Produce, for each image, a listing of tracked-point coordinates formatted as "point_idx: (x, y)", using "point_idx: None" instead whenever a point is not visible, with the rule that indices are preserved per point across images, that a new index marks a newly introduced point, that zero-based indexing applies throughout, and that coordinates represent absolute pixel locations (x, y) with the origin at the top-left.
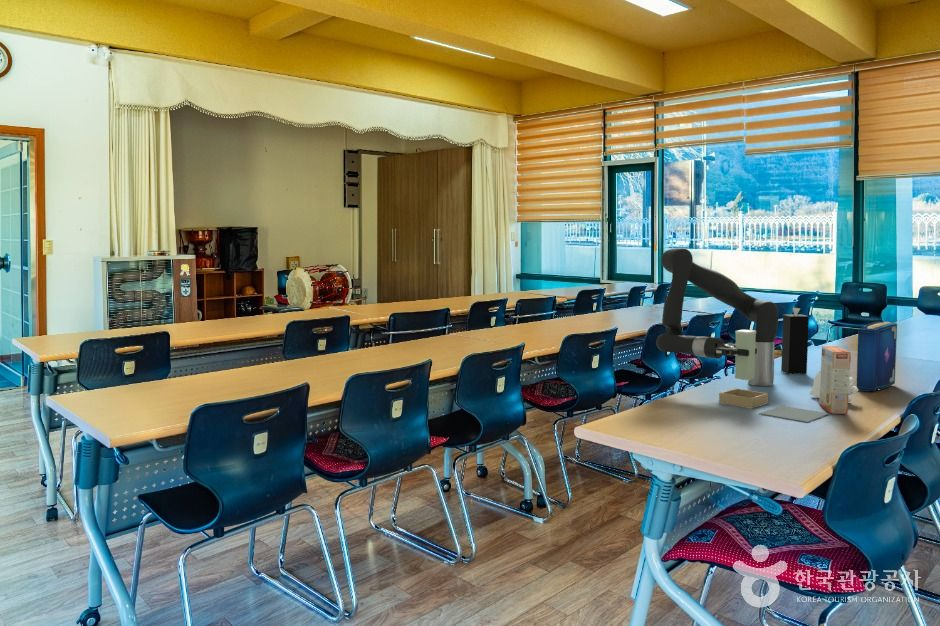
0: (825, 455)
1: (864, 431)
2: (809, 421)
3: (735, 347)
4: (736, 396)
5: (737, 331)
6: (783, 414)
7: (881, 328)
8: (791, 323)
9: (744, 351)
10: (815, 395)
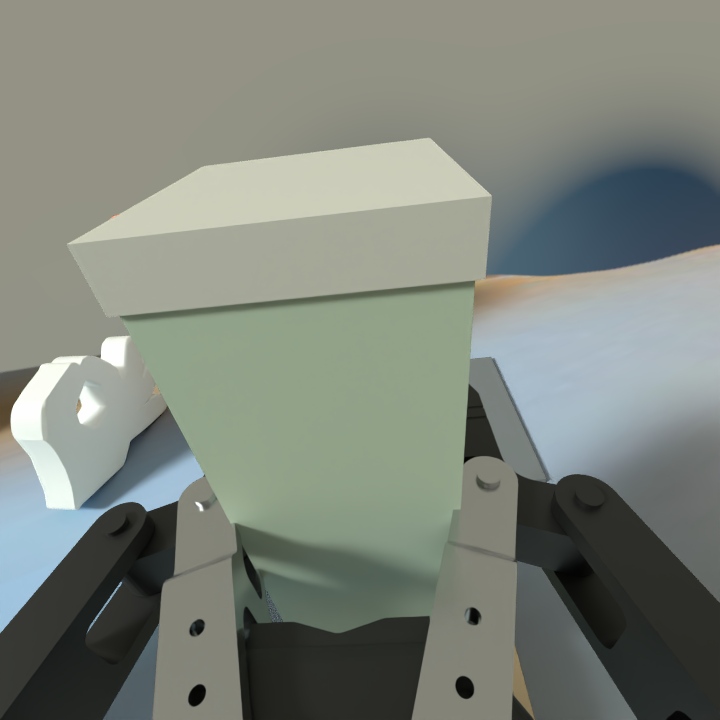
0: (680, 260)
1: None
2: (479, 358)
3: (289, 625)
4: (514, 647)
5: (472, 190)
6: None
7: None
8: None
9: (477, 393)
10: (97, 486)
